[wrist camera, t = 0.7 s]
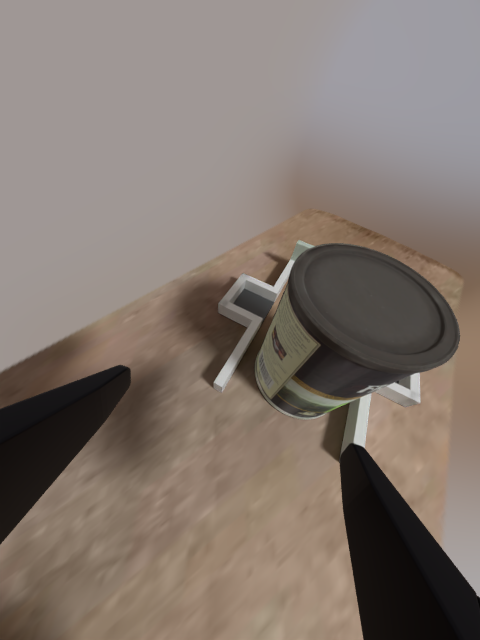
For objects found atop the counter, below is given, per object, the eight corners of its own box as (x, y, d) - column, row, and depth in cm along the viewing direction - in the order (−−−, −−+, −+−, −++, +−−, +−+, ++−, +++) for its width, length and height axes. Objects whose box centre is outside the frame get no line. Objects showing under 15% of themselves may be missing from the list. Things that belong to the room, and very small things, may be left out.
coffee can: (355, 380, 24) (483, 308, 13) (300, 443, 20) (419, 417, 8) (293, 322, 28) (348, 227, 17) (236, 363, 24) (257, 272, 12)
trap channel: (404, 500, 18) (459, 512, 14) (176, 366, 23) (168, 345, 19) (407, 315, 32) (436, 293, 27) (263, 254, 36) (269, 228, 32)
